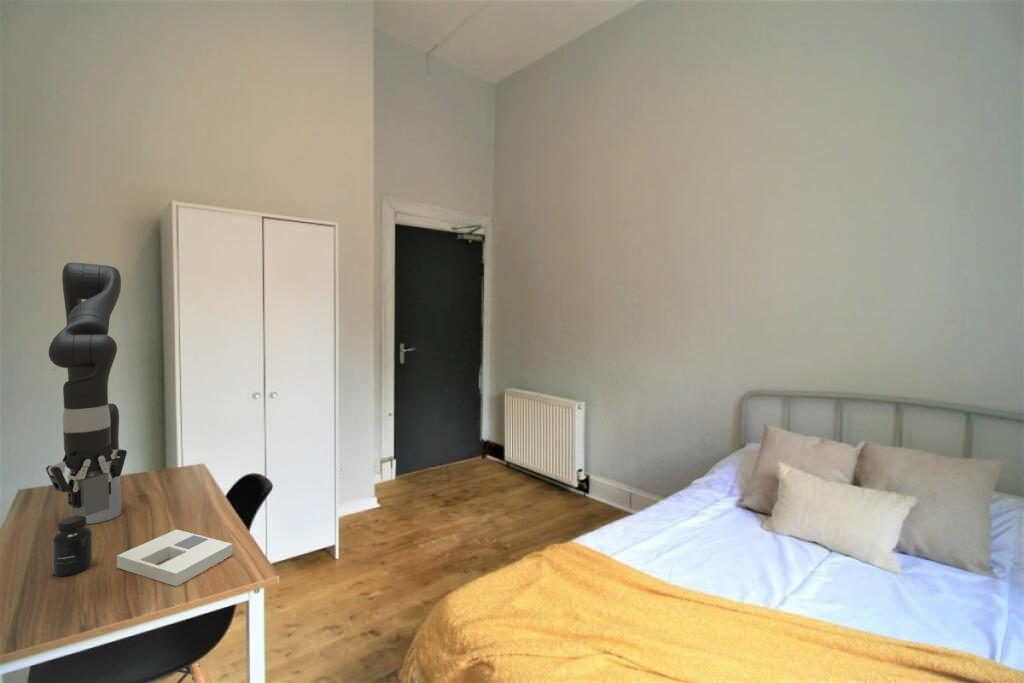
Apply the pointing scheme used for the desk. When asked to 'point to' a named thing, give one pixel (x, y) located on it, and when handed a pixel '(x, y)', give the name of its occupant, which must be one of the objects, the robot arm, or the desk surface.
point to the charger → (93, 494)
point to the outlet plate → (175, 557)
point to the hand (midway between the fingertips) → (90, 502)
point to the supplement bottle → (72, 546)
